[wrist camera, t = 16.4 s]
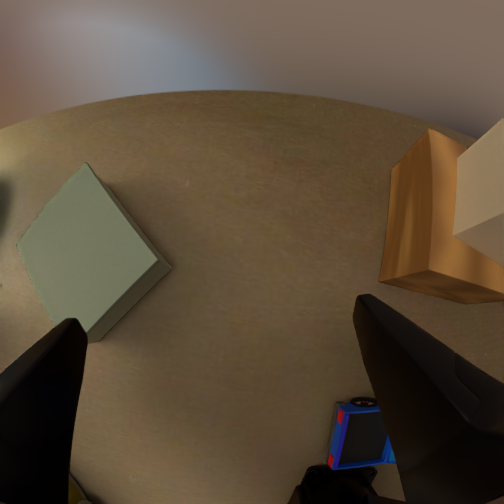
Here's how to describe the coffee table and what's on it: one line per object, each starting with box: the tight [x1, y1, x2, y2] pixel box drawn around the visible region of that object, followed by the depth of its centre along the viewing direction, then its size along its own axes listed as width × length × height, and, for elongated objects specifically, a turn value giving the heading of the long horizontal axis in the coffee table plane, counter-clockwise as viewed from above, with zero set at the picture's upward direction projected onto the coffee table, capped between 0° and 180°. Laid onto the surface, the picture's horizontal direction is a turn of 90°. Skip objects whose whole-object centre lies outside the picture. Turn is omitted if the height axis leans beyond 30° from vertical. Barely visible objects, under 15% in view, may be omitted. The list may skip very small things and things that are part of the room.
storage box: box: [16, 162, 172, 344], centre depth 18 cm, size 10×9×4 cm
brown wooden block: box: [379, 128, 504, 304], centre depth 17 cm, size 10×10×7 cm
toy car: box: [325, 397, 396, 470], centre depth 15 cm, size 7×12×5 cm, turn 85°
